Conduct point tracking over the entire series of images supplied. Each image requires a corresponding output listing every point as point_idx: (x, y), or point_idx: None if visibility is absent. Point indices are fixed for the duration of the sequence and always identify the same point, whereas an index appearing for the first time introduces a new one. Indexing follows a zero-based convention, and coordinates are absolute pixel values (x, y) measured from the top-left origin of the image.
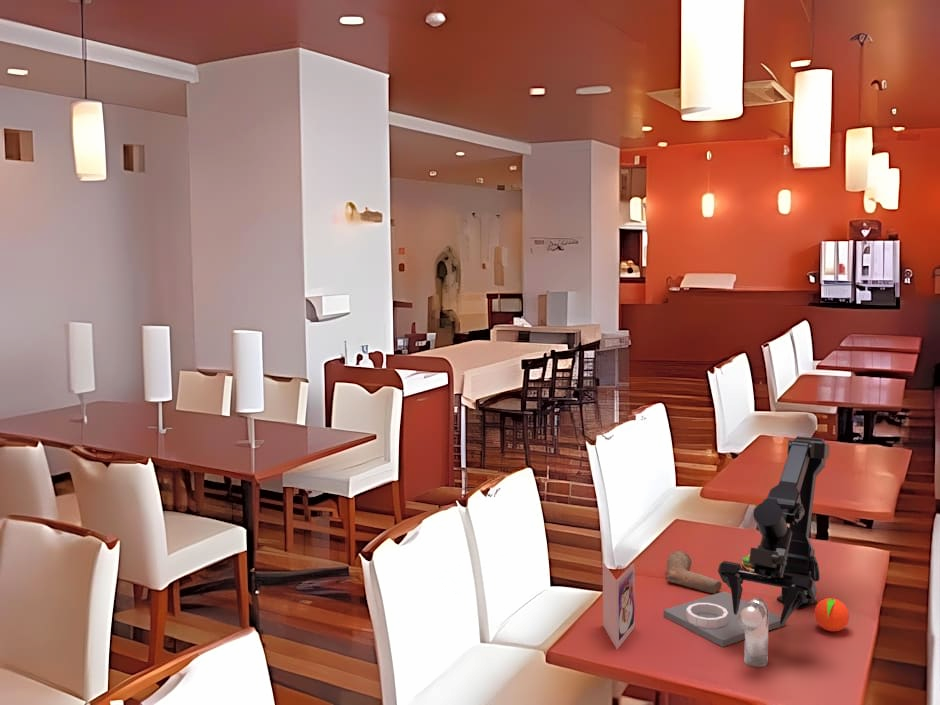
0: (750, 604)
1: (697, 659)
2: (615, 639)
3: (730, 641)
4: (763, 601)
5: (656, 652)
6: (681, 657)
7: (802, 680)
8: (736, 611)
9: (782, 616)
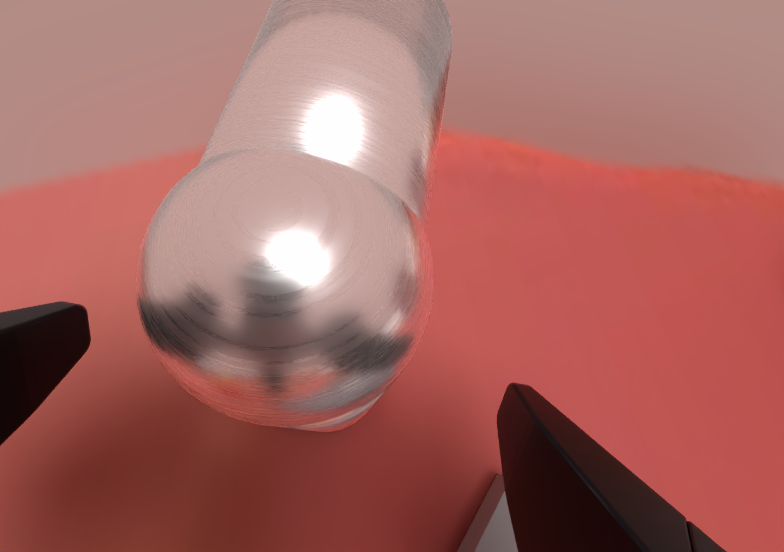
0: (362, 81)
1: (557, 310)
2: None
3: (474, 531)
4: (170, 227)
5: (710, 314)
6: (615, 306)
7: (132, 273)
8: (508, 413)
9: (11, 316)
